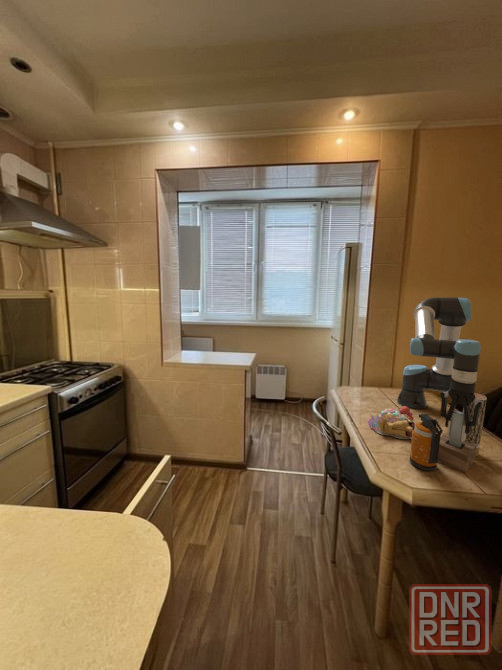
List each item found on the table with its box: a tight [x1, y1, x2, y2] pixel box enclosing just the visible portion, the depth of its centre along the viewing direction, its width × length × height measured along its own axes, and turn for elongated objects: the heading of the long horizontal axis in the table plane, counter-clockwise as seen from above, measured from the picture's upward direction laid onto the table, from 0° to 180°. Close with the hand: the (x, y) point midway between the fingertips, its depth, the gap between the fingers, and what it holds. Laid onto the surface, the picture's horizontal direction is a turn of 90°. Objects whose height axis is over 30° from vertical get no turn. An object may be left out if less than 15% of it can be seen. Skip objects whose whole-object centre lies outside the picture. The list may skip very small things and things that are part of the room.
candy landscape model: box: [367, 405, 417, 440], centre depth 137 cm, size 25×24×9 cm
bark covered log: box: [462, 392, 487, 458], centre depth 115 cm, size 7×7×25 cm
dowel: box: [449, 410, 465, 449], centre depth 109 cm, size 4×4×16 cm
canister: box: [409, 413, 444, 472], centre depth 106 cm, size 9×11×20 cm
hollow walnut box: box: [438, 433, 477, 473], centre depth 111 cm, size 11×11×7 cm
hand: (455, 437), depth 110 cm, fingers closed on dowel, 4 cm apart
